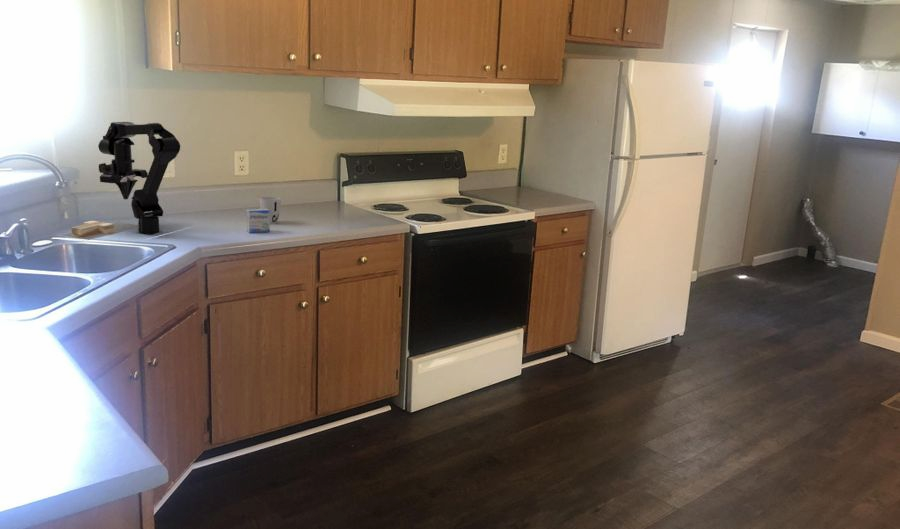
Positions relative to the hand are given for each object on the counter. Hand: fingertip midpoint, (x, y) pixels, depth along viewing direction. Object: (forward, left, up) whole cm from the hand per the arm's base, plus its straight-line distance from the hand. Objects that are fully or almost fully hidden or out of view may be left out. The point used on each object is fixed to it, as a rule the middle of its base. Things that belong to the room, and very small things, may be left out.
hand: (125, 199), depth 266 cm
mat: (+2, +9, -11) cm, 14 cm away
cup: (-37, -37, -11) cm, 54 cm away
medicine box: (-42, -21, -11) cm, 49 cm away
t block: (+2, +15, -10) cm, 19 cm away
